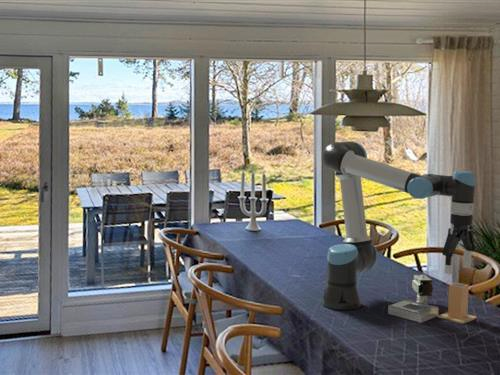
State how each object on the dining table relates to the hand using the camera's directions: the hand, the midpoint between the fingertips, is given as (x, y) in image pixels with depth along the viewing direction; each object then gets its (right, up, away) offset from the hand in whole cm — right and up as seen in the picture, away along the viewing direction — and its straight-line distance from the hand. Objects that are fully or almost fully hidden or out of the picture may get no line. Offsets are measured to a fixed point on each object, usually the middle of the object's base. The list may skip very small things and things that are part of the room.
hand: (457, 270), depth 212 cm
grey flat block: (-15, -17, +5) cm, 23 cm away
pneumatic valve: (-8, -16, +18) cm, 25 cm away
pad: (0, -18, +2) cm, 18 cm away
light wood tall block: (0, -17, +1) cm, 17 cm away
